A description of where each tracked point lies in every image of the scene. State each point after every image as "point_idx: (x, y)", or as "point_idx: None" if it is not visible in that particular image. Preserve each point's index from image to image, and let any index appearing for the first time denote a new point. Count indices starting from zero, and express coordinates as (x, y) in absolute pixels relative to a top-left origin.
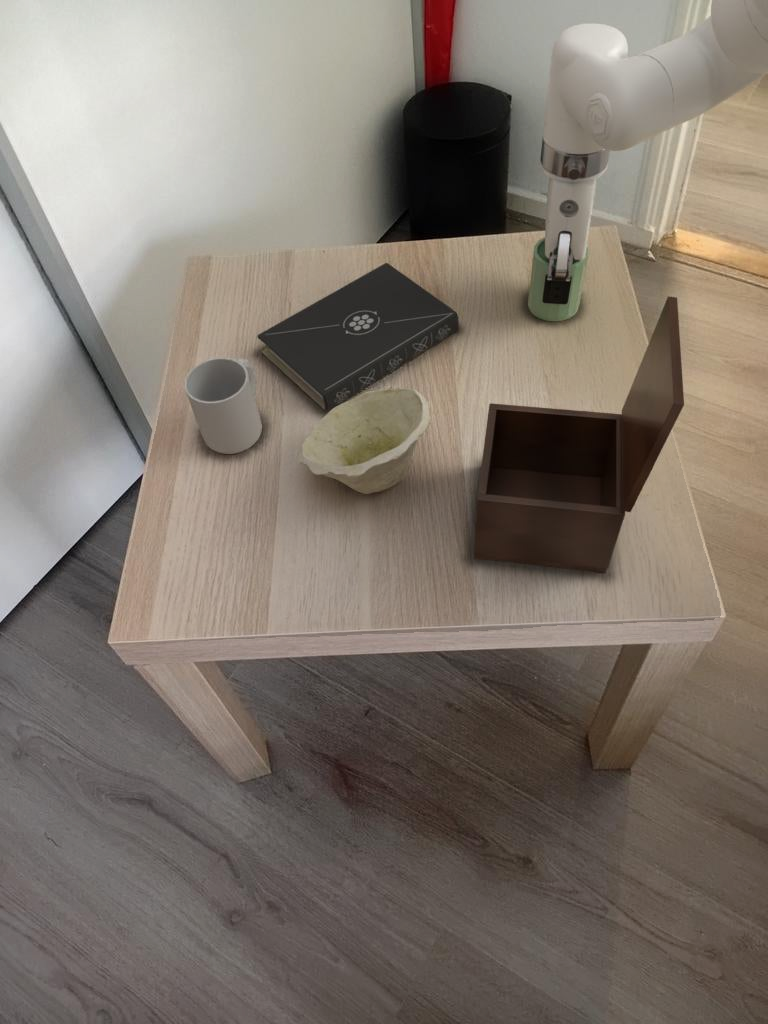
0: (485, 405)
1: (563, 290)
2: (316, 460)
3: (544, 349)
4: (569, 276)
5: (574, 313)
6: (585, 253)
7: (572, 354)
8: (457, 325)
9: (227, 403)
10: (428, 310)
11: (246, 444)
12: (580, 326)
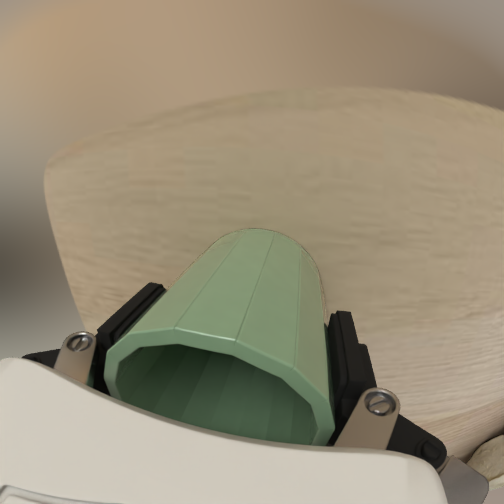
0: (479, 387)
1: (372, 371)
2: (494, 485)
3: (407, 317)
4: (396, 415)
5: (299, 245)
6: (438, 494)
7: (434, 261)
8: (331, 446)
9: None
10: None
11: None
12: (343, 231)
